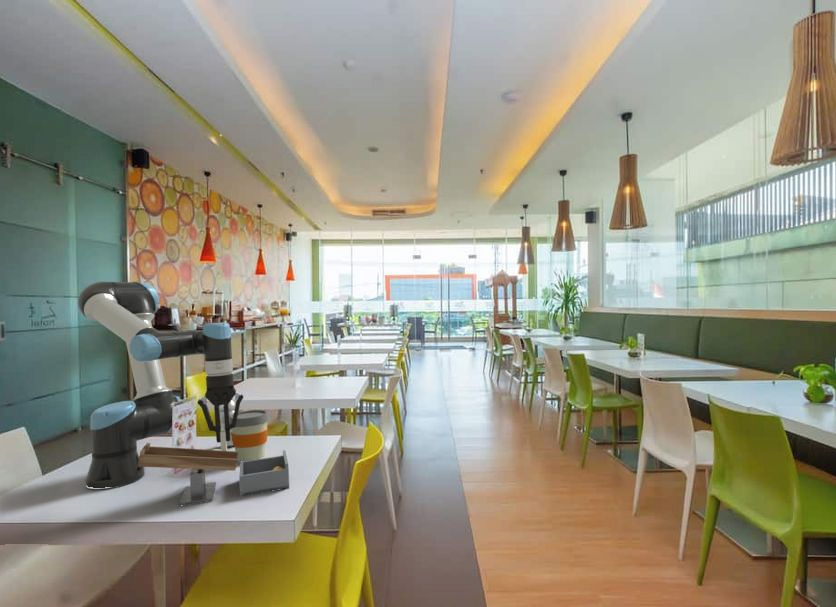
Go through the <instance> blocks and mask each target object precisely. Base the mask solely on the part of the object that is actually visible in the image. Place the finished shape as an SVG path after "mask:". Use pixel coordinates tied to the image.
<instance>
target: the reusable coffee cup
mask: <svg viewBox="0 0 836 607" xmlns="http://www.w3.org/2000/svg"><path fill="white" fill-rule="evenodd" d="M233 415H234V414H233ZM233 415H231V416H230V424H231V423H232V420H233ZM268 421H269V416H268V411H267V410H261V409H255V410H254V409H253V410H243V411H238V416H237V422H236V426H235V427H234V428H232V432H231V436H232V442H233V446H232V447H234V449H235V450H234V451H238V455H237V462H240V461H242V462H243V461H249V460H256V459H260V458H261V459H263V458H264V457H265V452H266V443H267V441H268V431H269V428H268ZM263 456H264V457H263ZM262 457H263V458H262Z"/></svg>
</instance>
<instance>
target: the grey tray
mask: <svg viewBox="0 0 836 607" xmlns="http://www.w3.org/2000/svg"><path fill="white" fill-rule="evenodd" d="M277 466H280V467H282V468H283V469H278V470H273V469H274V468H275V467H277ZM289 474H290V473H289V462H288V456H287V452H286V450H282V455H277V456H276V455H275V456H271V457H269V456H268V457H263V458H261V459H256V460H249V461H243V462H240V466H239V475H238V476H239V479H238V480H239V497H246V496H251V494H253V495H258V494H257V493H259V494H262V493H261V492H264V493H268V492H267V491H270V492H273V491H272V490H276V491H279V490H278V489H281V490H284V489H283V488H287V489H290V475H289Z"/></svg>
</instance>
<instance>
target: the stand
mask: <svg viewBox="0 0 836 607" xmlns="http://www.w3.org/2000/svg"><path fill="white" fill-rule="evenodd" d="M193 470H194V469H191V470H190V473H189V486H185V488H184V489H183V492H182V494H181V498H180V501H179V503H178V505H179V506H180V507H182V506H181V505H186V506H189V505H188V504H191V505H195V504H194V503H197V504H201V503H200V502H203V503H207V502H206V501H209V502H213V500H214V495H215V490H216V487H217V482H216V481H215V482H214V481H213V482H208V483H206V469H199V470H198V473H197V474H193Z"/></svg>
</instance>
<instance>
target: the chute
mask: <svg viewBox="0 0 836 607" xmlns="http://www.w3.org/2000/svg"><path fill="white" fill-rule="evenodd" d="M237 455H238V451H235V450H234V449H227V451H222V450H221V448H220V449H219V448H217V449H215V448H214V449H202V448H180V447H166V446H151V442H146V444H145V445H144V446H143V447H142V448H141V450H140V452H139V461H138V466H137V467H144V468H160V469H161V468H163V469H165V468H167V469H188V470H189V469H190V470H192V469H194V470H193V474H197V473H198V470H199V469H205V470H210V471H211V470H212V471H234V472H236V468H237V462H238V460H237Z"/></svg>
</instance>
